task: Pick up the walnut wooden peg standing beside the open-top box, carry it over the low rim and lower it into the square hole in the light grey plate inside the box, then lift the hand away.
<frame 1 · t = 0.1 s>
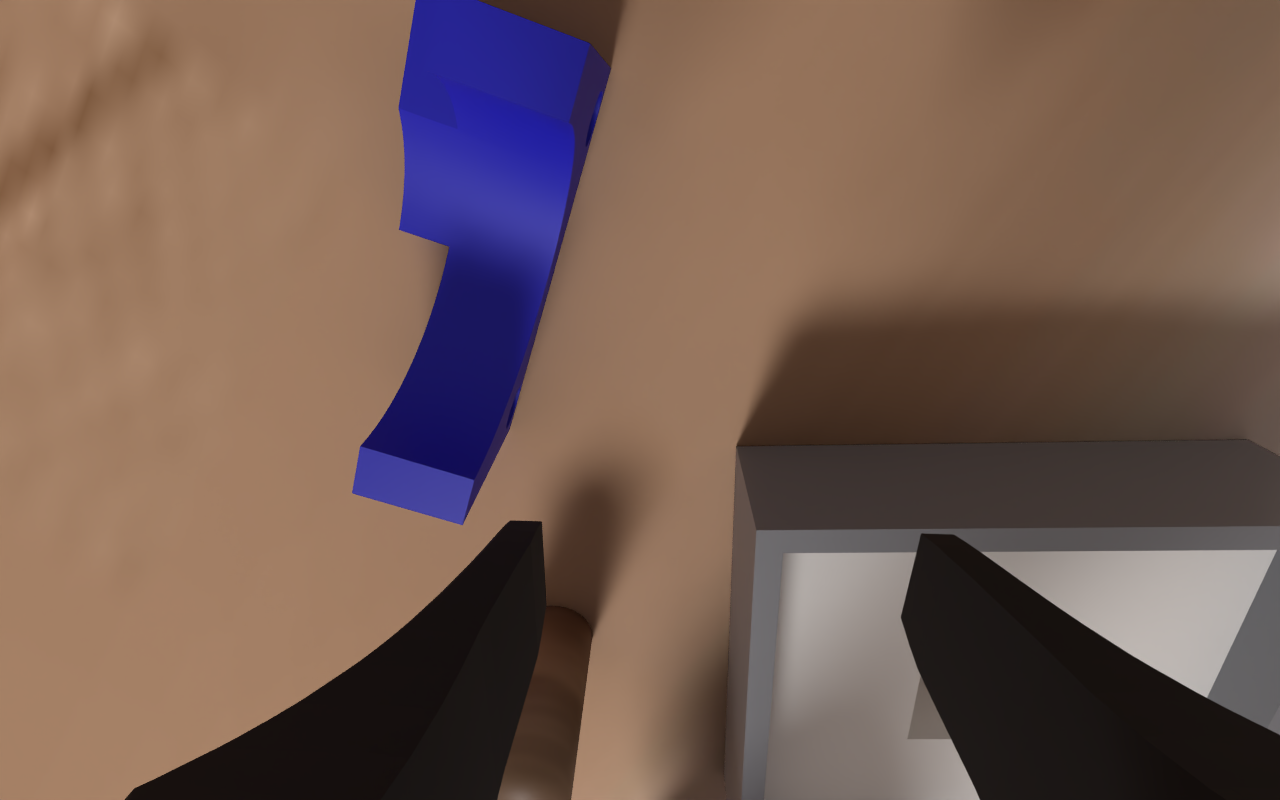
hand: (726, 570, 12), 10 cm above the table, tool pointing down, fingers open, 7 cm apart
box: (945, 633, 25), on the table
cable clip: (488, 244, 20), on the table
peg: (556, 634, 26), on the table
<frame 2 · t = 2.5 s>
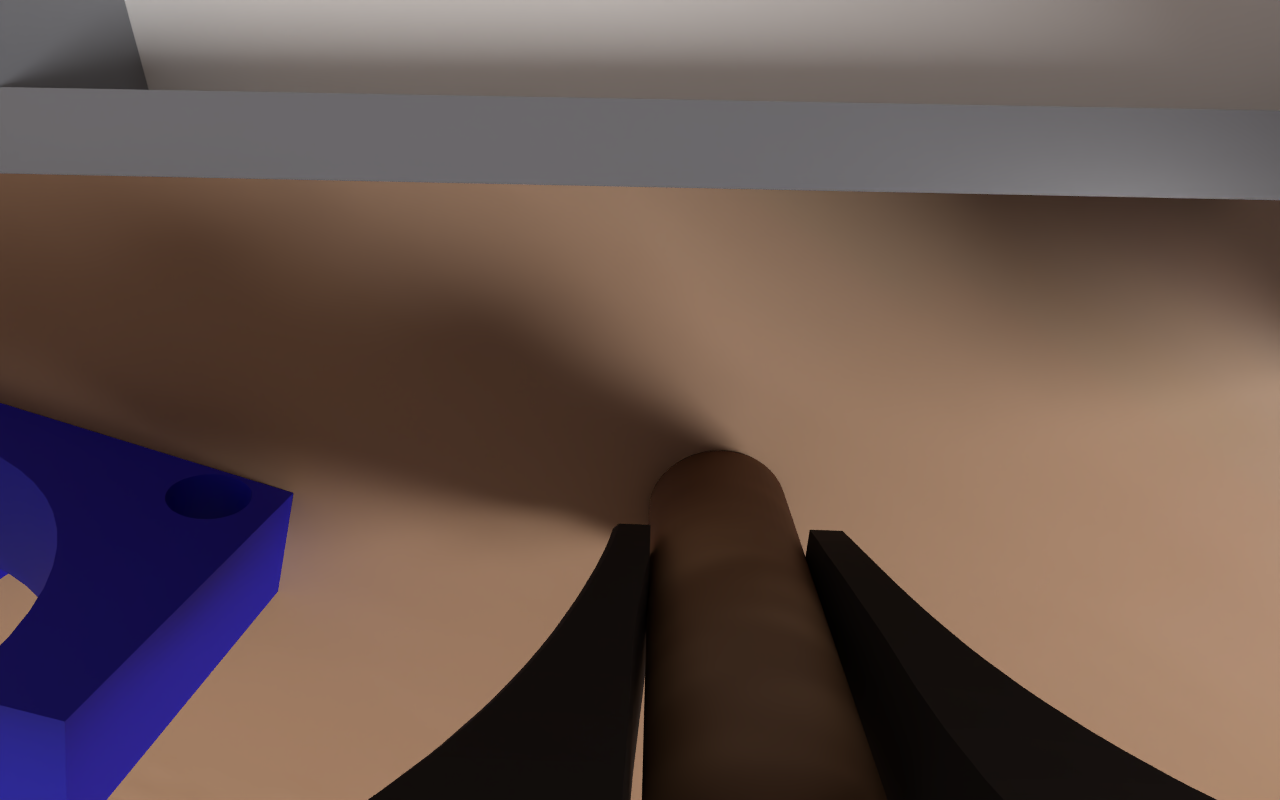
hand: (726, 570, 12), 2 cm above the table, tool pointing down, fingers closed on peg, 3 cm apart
cable clip: (30, 482, 14), on the table
peg: (717, 510, 14), on the table, touching gripper
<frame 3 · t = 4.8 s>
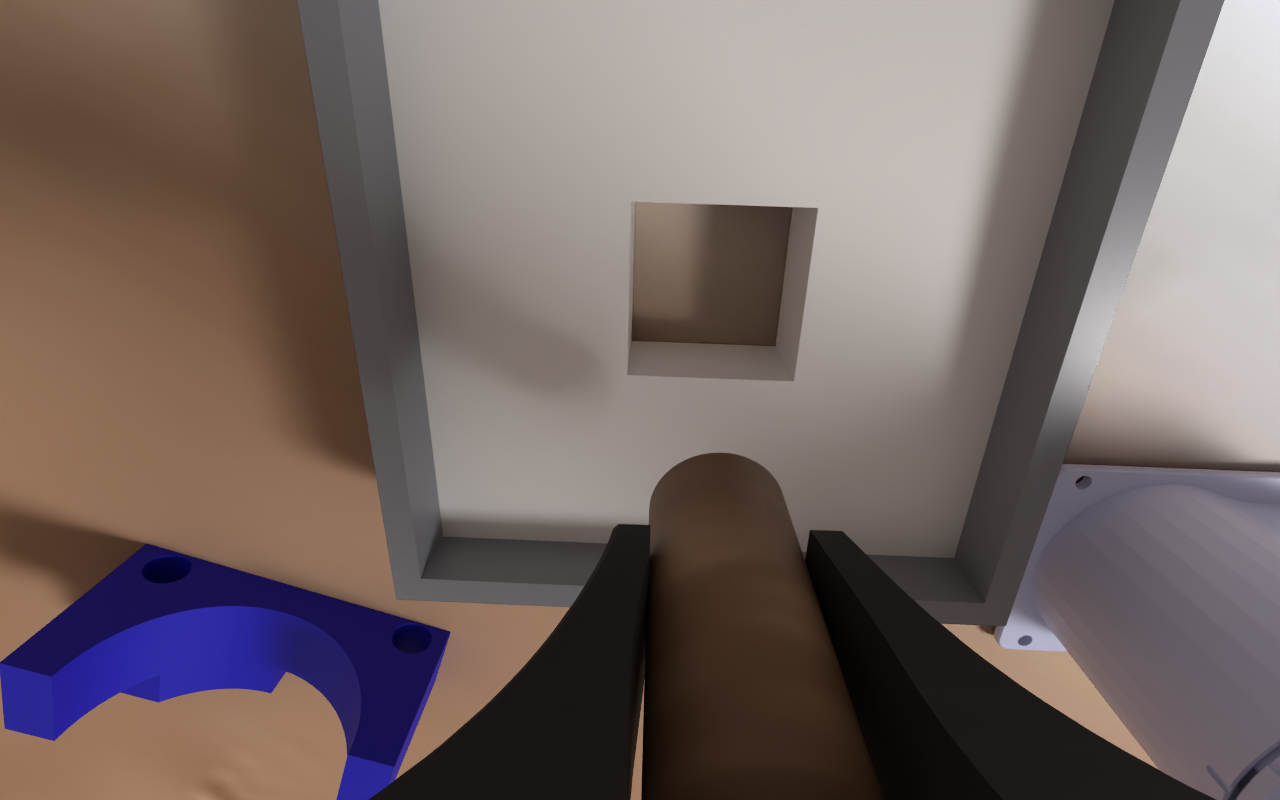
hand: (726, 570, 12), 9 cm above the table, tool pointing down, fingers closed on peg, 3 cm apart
box: (708, 271, 19), on the table
cable clip: (300, 622, 26), on the table
peg: (716, 511, 14), point 7 cm above the table, touching gripper
when the fingers open (4 cm above the table, at t = 7.2 s): peg drops 2 cm, resting in box.
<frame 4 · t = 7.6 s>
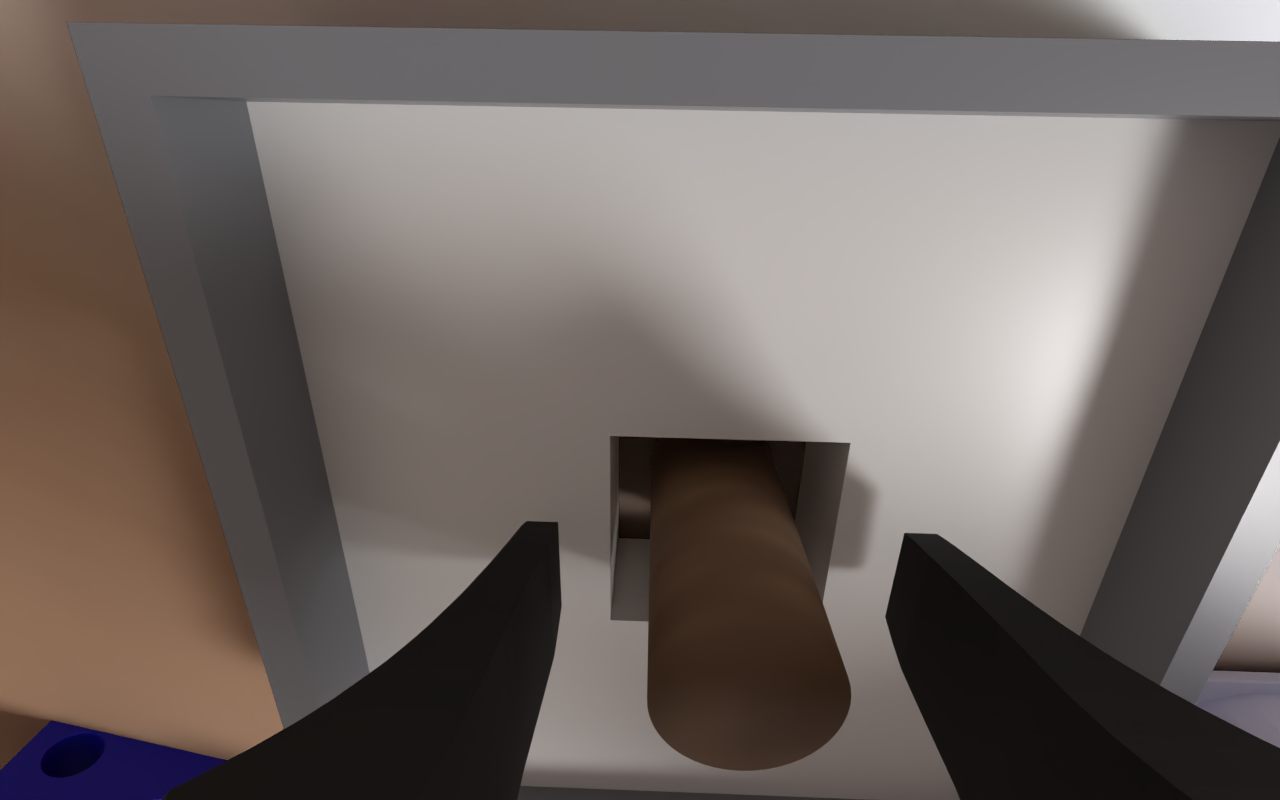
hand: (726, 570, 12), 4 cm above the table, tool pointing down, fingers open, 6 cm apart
box: (710, 465, 16), on the table
cable clip: (243, 793, 22), on the table
peg: (711, 465, 16), resting in box
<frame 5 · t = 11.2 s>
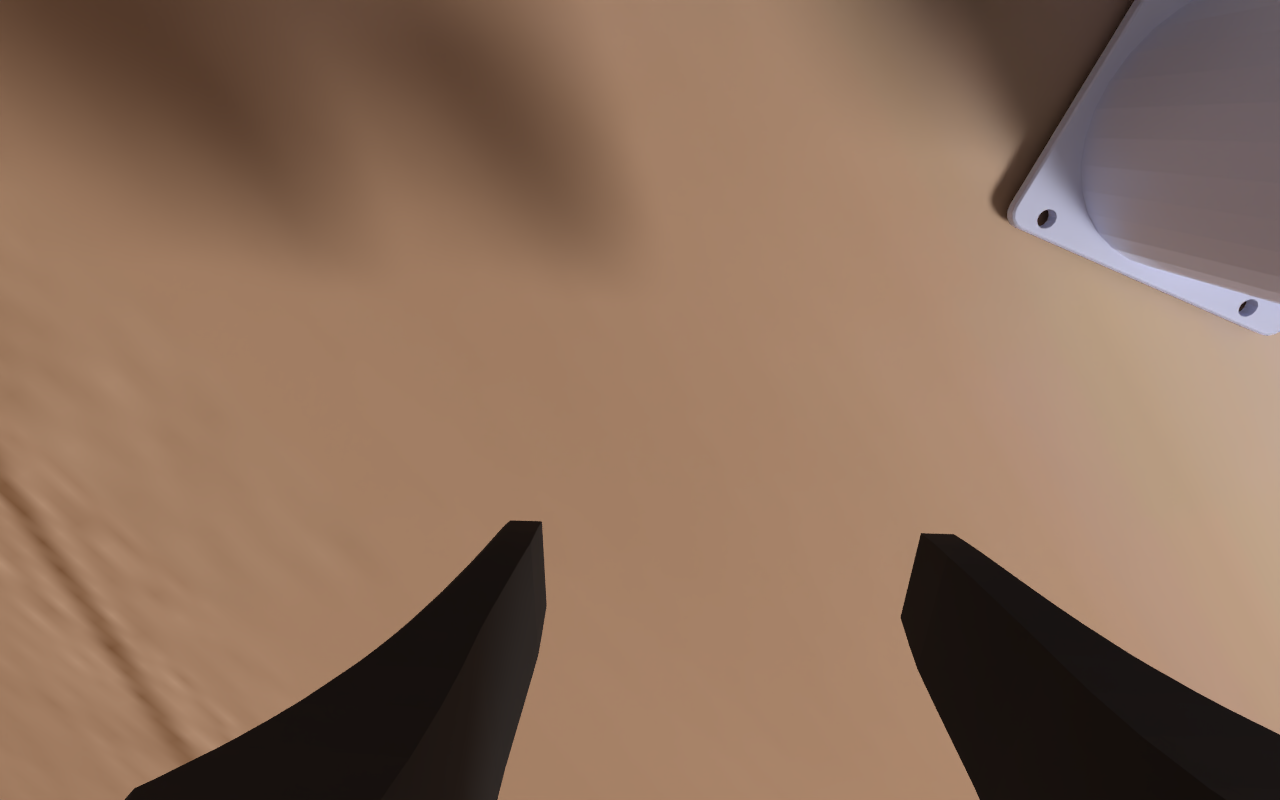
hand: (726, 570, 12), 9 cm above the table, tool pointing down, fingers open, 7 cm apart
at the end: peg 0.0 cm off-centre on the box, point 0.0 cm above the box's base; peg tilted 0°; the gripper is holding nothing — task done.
